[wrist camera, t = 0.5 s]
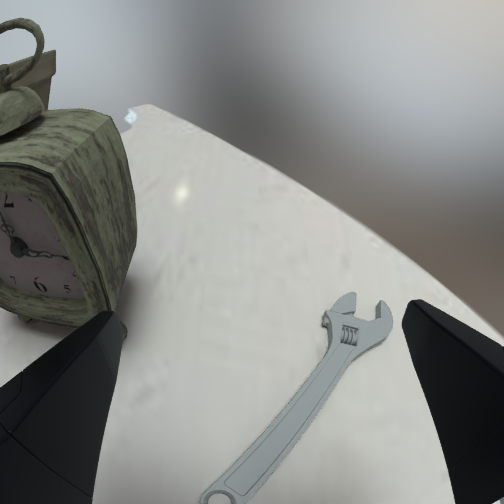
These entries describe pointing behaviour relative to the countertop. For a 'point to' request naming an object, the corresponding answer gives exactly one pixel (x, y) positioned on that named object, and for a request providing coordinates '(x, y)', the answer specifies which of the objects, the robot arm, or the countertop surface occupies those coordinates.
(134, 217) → the tabletop clock
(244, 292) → the countertop surface
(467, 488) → the robot arm
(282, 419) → the adjustable wrench
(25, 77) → the plant pot
